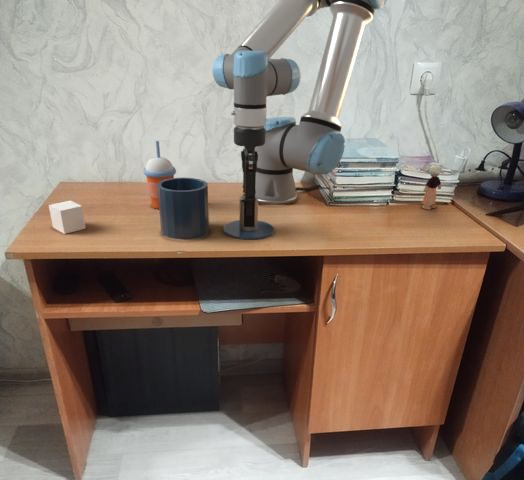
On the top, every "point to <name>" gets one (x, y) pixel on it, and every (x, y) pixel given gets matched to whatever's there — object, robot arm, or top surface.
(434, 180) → the grandmother figurine
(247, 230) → the tin lid
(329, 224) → the top surface
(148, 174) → the cup with straw
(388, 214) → the top surface
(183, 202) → the tin
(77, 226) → the white cube
